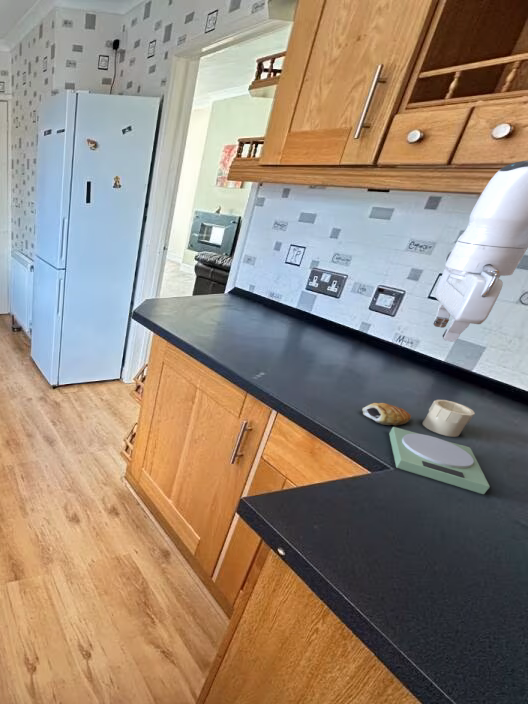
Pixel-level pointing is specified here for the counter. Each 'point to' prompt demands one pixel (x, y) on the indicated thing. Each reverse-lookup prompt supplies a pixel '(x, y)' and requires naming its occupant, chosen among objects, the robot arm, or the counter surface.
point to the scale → (437, 460)
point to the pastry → (386, 414)
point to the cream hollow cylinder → (447, 418)
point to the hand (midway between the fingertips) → (443, 332)
